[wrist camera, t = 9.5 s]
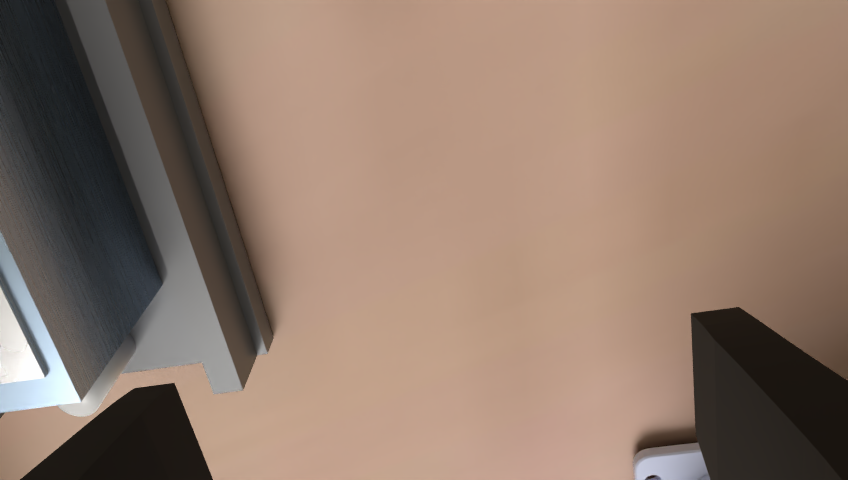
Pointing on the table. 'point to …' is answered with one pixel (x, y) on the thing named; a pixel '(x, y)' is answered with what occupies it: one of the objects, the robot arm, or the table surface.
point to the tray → (168, 200)
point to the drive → (59, 221)
